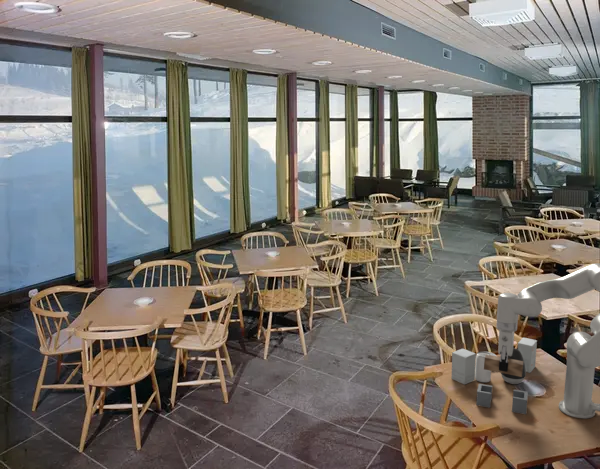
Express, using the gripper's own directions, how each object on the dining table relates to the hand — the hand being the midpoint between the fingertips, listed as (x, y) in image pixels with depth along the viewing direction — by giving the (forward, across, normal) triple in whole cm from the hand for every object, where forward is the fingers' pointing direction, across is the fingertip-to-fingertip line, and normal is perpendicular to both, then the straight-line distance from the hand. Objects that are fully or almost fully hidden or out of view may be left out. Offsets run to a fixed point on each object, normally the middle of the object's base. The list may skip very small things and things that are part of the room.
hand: (503, 368), depth 208 cm
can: (+16, +18, +10) cm, 26 cm away
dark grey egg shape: (+16, +22, -2) cm, 27 cm away
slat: (+1, 0, 0) cm, 1 cm away
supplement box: (+16, +15, +17) cm, 28 cm away
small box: (+16, +38, -7) cm, 42 cm away
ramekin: (+16, +35, +10) cm, 40 cm away
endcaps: (+15, -1, 0) cm, 15 cm away
